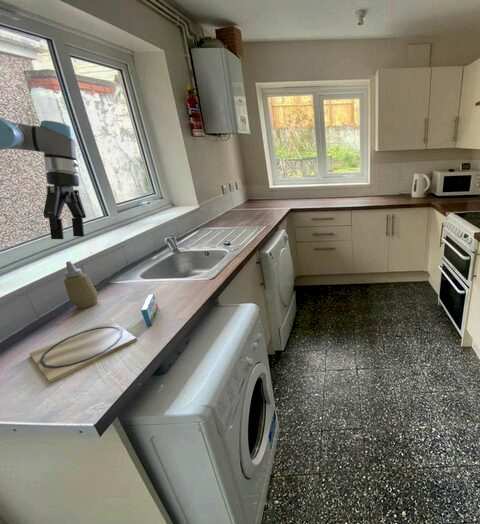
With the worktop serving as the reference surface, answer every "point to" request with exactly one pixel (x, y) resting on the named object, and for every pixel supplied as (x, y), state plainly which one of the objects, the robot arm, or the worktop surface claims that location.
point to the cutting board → (81, 349)
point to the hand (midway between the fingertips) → (68, 237)
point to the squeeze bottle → (79, 287)
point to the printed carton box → (150, 310)
